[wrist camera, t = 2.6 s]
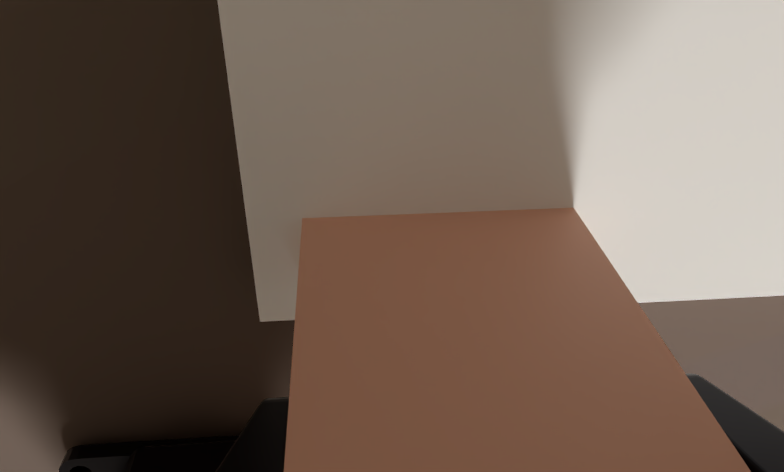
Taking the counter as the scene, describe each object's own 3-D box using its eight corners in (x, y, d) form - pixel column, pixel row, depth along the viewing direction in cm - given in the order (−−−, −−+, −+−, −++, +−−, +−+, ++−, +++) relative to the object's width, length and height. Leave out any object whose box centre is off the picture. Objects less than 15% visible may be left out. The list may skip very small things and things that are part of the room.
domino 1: (562, 278, 13) (1021, 1139, 4) (308, 290, 12) (260, 1253, 4) (573, 207, 12) (1175, 1101, 3) (301, 218, 12) (228, 1240, 3)
